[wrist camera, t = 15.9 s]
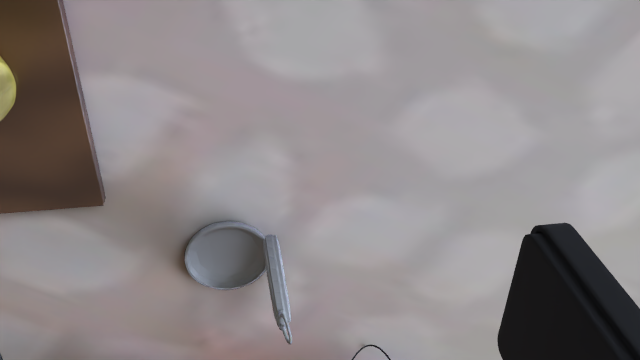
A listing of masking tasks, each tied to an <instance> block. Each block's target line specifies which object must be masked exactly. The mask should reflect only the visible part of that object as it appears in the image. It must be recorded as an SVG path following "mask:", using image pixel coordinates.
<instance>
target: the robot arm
mask: <svg viewBox="0 0 640 360" xmlns="http://www.w3.org/2000/svg"><path fill="white" fill-rule="evenodd" d="M498 348H499V351H500V354H501V357H502V359H503V360H640V309H639V307H638V306H637V305H636V304H635V302H634V301H633V300H632V299H631V298H630V296H629V295H628V294H627V293H626V291H625V290H624V289H623V288H622V286H621V285H620V284H619V283H618V282H617V280H616V279H615V278H614V277H613V275H612V274H611V273H610V272H609V270H608V269H607V268H606V267H605V266H604V264H603V263H602V262H601V261H600V259H599V258H598V257H597V256H596V254H595V253H594V252H593V251H592V250H591V248H590V247H589V246H588V245H587V243H586V242H585V241H584V240H583V238H582V237H581V236H580V235H579V234H578V232H577V231H576V230H575V229H574V228H573V227H572V226H571V225H570V224H568V223H559V224H548V225H538V226H535V227H534V228H533V229H532V231H531V234H528V235H525V237H524V238H523V241H522V244H521V248H520V252H519V256H518V260H517V264H516V268H515V271H514V275H513V279H512V283H511V287H510V291H509V295H508V298H507V302H506V306H505V310H504V314H503V318H502V322H501V326H500V329H499V333H498ZM0 360H3V359H2V356H1V354H0Z"/></svg>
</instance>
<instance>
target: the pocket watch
mask: <svg viewBox="0 0 640 360" xmlns="http://www.w3.org/2000/svg"><path fill="white" fill-rule="evenodd" d="M185 265H186V268H187V270H188V272H189V274H190V275H191V276H192V278H193V279H194V280H196V281H197V282H198V283H200V284H202V285H204V286H206V287H210V288H214V289H218V290H232V289H238V288H241V287H244V286H246V285H249V284H252V283H253V282H254V281H256V280H257V279H259V278H260V277H261V275H262V274H263V273H264V272H265V271H267V277H268V283H269V289H270V295H271V300H272V306H273V311H274V316H275V319H276V321H277V325H278V327H279V329H280V330H282V331H283V334H284V336H285V339H286V341H287V343H289V344H291V343H292V335H291V331H290V327H289V324H288V323H289V322H290V321H291V314H290V305H289V298H288V292H287V286H286V280H285V274H284V268H283V262H282V257H281V251H280V246H279V242H278V239H277V236H276V235H267V236H266V237H264V236H263V235H262V233H261V232H259V231H258V230H257V229H255V228H254V227H251V226H249V225H247V224H244V223H239V222H233V221H228V222H220V223H214V224H212V225H209V226H207V227H205V228H203V229H201V230H200V231H199V232H198V233H197V234H195V235H194V236H193V237H192V238H191V240H190V242H189V243H188V245H187V248H186V251H185ZM286 328H287V331H288V335H289V339H288V336H287V333H286V330H285V329H286Z"/></svg>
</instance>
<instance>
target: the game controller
mask: <svg viewBox="0 0 640 360" xmlns="http://www.w3.org/2000/svg"><path fill="white" fill-rule="evenodd" d="M367 346H374V347H377V346H375V345H367ZM367 346H364V347H363V348H365V347H367ZM363 348H361V349H360V350H359V351H361V350H362V349H363ZM377 348H378V349H380V350H381V351H382V352H383V353H384V354H385V355H386V356H387V357H388V355H387V354H386V353H385V352H384V351H383V350H382V349H381V348H379V347H377ZM359 351H358V352H357V353H356V354H355V356H356V355H357V354H358V353H359ZM355 356H354V357H353V359H354V358H355ZM353 359H352V360H353ZM388 359H389V360H391V359H390V358H389V357H388Z"/></svg>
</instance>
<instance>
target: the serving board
mask: <svg viewBox="0 0 640 360" xmlns="http://www.w3.org/2000/svg"><path fill="white" fill-rule="evenodd" d="M0 56H1V58H2V59H3V60H4V61H5V62H6V64H7V65H8V67H9V68H10V70H11V72H12V74H13V76H14V79H15V83H16V97H15V102H14V104H13V106H12V108H11V109H10V111H9V112H8V113H7V115H6V116H5V117H4V118H3V119H2V120H1V121H0V214H1V213H14V212H27V211H40V210H52V209H65V208H78V207H91V206H103V205H104V202H105V198H106V197H105V193H104V188H103V183H102V179H101V174H100V170H99V165H98V160H97V156H96V151H95V147H94V142H93V137H92V133H91V128H90V124H89V119H88V114H87V110H86V105H85V101H84V96H83V92H82V87H81V82H80V78H79V73H78V69H77V64H76V59H75V55H74V50H73V46H72V41H71V36H70V32H69V27H68V23H67V18H66V13H65V9H64V4H63V0H0Z"/></svg>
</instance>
